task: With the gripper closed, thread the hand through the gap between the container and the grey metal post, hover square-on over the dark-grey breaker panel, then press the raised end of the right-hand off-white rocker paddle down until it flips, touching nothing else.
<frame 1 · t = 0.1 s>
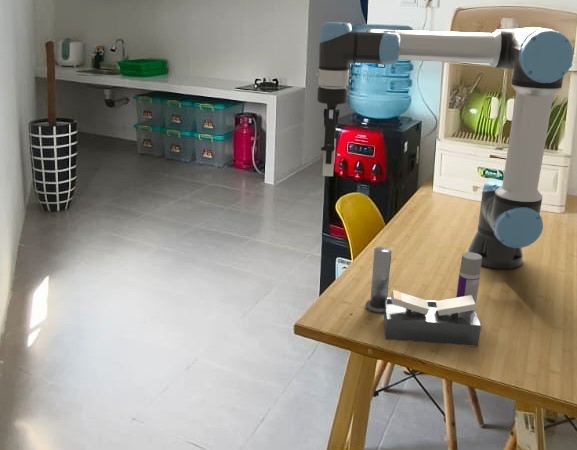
hand: (328, 169, 167), 28 cm above the table, fingers open, 13 cm apart
paddle a: (409, 302, 141), point 7 cm above the table, hinge at -15.0°
container: (464, 314, 153), on the table
post: (378, 307, 154), on the table
paddle b: (455, 305, 141), point 7 cm above the table, hinge at 15.0°
panel: (429, 332, 144), on the table
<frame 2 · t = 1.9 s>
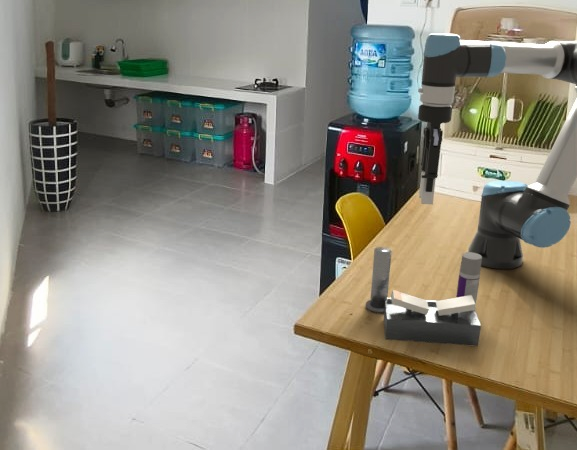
hand: (425, 200, 154), 25 cm above the table, fingers open, 4 cm apart
nothing on the table moved.
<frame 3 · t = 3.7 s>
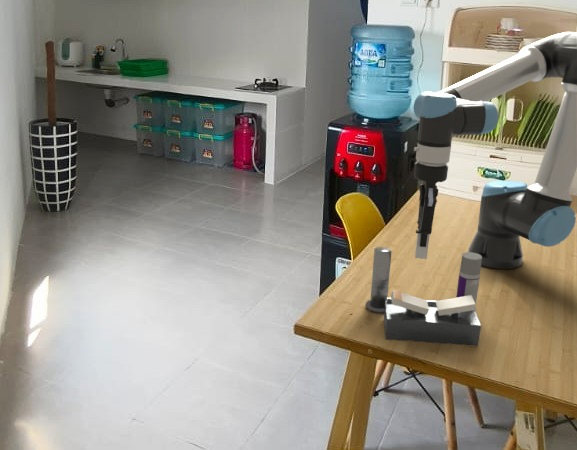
hand: (420, 257, 154), 12 cm above the table, fingers closed
nothing on the table moved.
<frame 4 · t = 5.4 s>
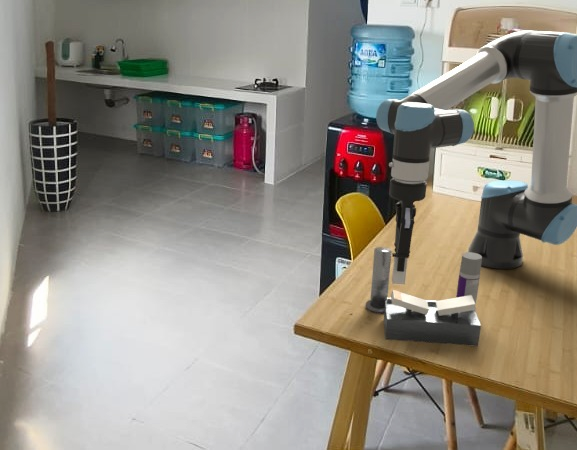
hand: (398, 282, 140), 12 cm above the table, fingers closed
nothing on the table moved.
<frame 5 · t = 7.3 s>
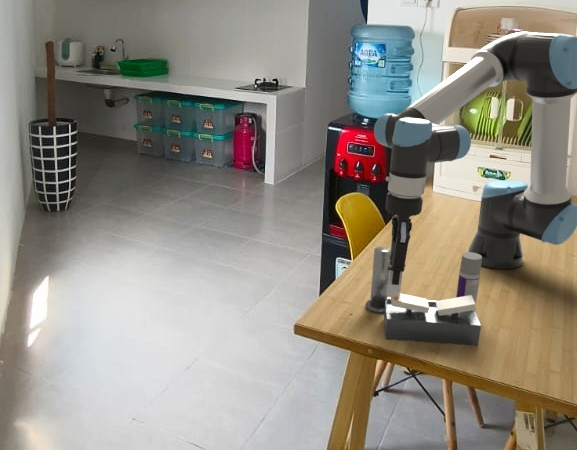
hand: (393, 295, 141), 9 cm above the table, fingers closed
paddle a: (409, 302, 141), point 7 cm above the table, hinge at -9.0°, touching gripper
everything else where it was.
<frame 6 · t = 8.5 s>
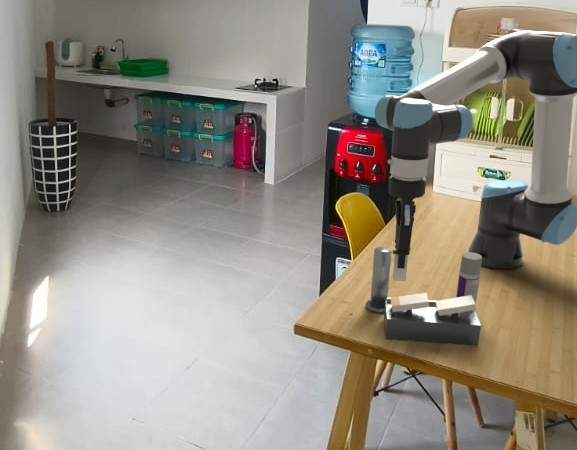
hand: (399, 279, 140), 13 cm above the table, fingers closed
paddle a: (409, 302, 141), point 7 cm above the table, hinge at 12.8°
everything else where it was.
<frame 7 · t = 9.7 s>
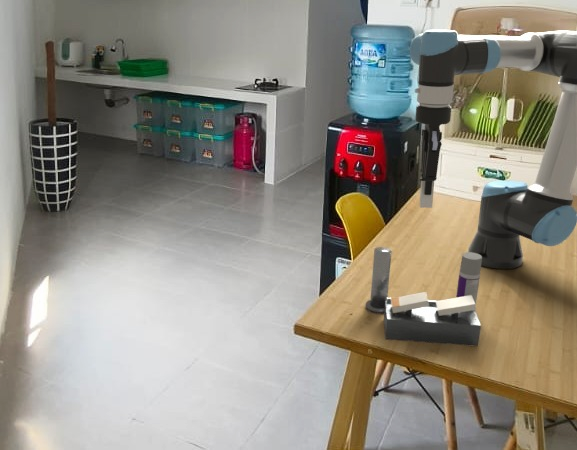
hand: (425, 206, 147), 26 cm above the table, fingers closed
paddle a: (409, 302, 141), point 7 cm above the table, hinge at 16.8°
everything else where it was.
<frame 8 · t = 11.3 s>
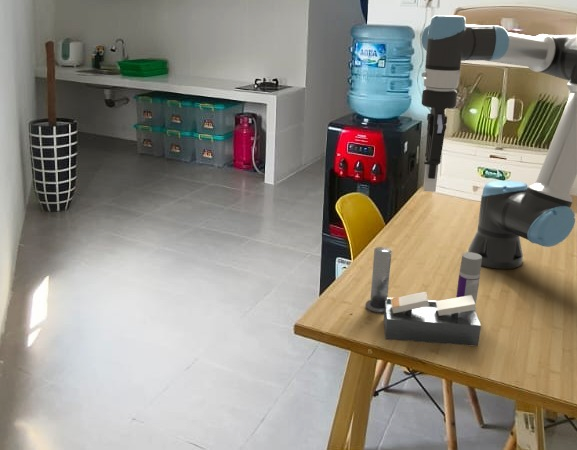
hand: (429, 190, 149), 28 cm above the table, fingers closed
paddle a: (409, 302, 141), point 7 cm above the table, hinge at 17.9°
everything else where it was.
at the end: paddle a at +18° (first picture: -15°); paddle b at +15° (first picture: +15°); container moved 0.2 cm from its start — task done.
